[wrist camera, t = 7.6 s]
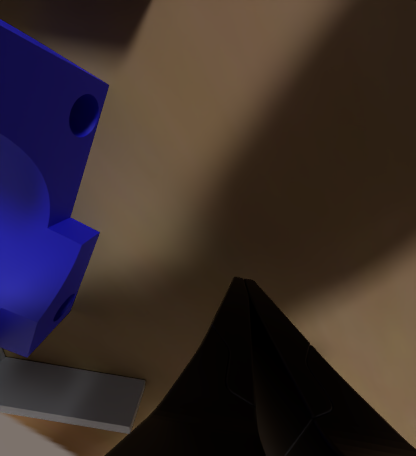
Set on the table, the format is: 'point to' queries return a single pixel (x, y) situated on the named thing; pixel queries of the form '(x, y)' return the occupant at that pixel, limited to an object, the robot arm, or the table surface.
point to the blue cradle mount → (41, 185)
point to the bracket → (69, 394)
